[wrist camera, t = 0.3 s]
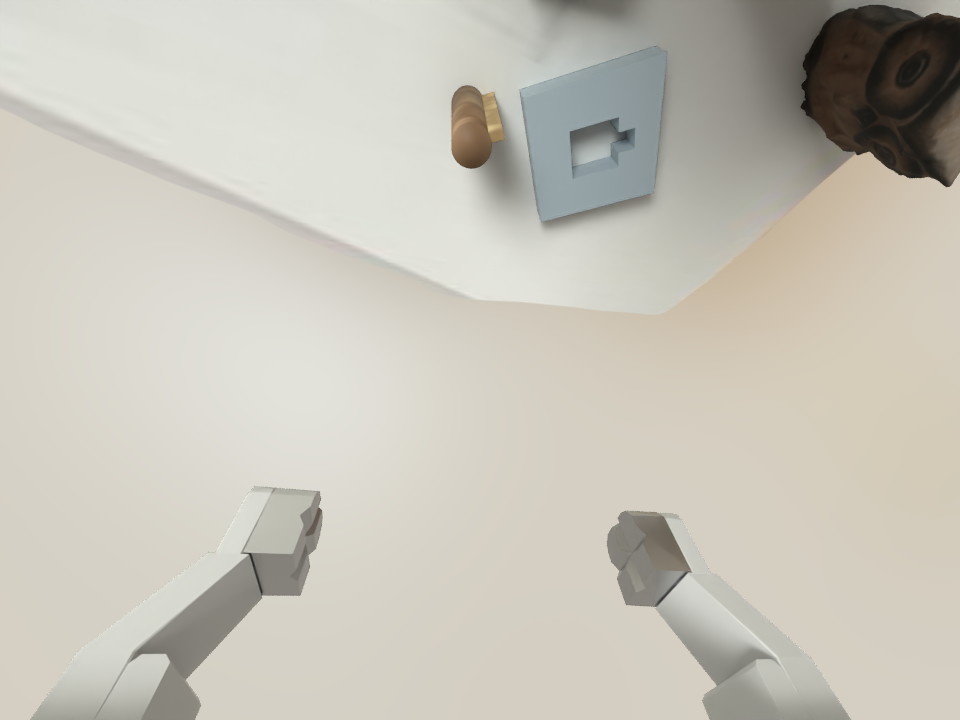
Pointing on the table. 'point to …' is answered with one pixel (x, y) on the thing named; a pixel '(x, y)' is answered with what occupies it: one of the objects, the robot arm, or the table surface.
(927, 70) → the owl
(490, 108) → the keyed peg
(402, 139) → the table surface
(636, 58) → the hub block
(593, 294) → the table surface
